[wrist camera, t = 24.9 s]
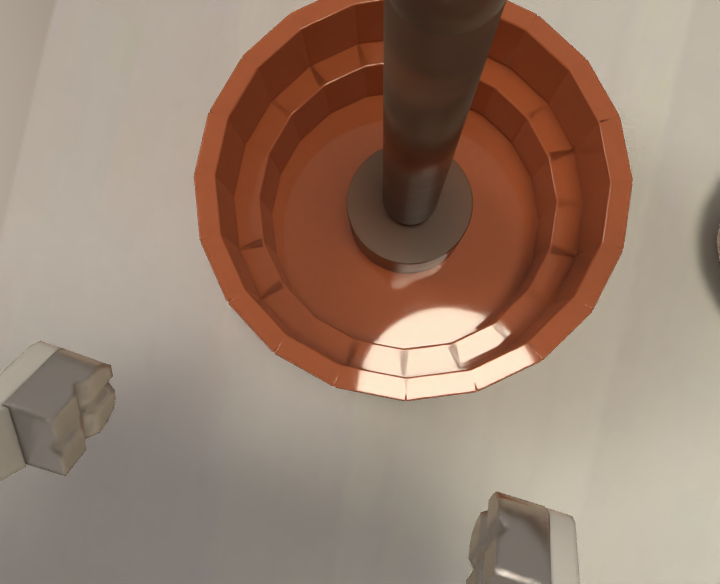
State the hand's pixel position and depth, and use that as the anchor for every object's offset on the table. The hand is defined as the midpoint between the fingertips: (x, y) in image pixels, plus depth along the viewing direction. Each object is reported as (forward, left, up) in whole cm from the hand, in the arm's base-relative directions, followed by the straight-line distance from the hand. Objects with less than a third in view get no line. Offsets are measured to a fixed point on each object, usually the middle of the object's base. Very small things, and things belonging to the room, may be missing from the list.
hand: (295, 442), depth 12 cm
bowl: (+4, +8, -14) cm, 16 cm away
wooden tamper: (+4, +8, -13) cm, 16 cm away
